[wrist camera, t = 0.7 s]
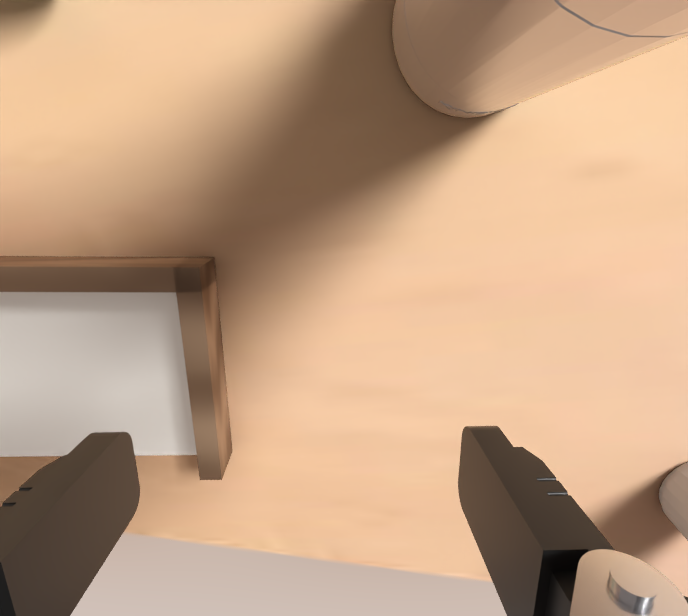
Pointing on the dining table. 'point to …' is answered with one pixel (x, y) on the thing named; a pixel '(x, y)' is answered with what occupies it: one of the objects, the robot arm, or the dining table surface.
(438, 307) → the dining table surface
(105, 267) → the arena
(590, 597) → the robot arm
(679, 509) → the coffee cup
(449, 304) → the dining table surface
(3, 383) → the mat
